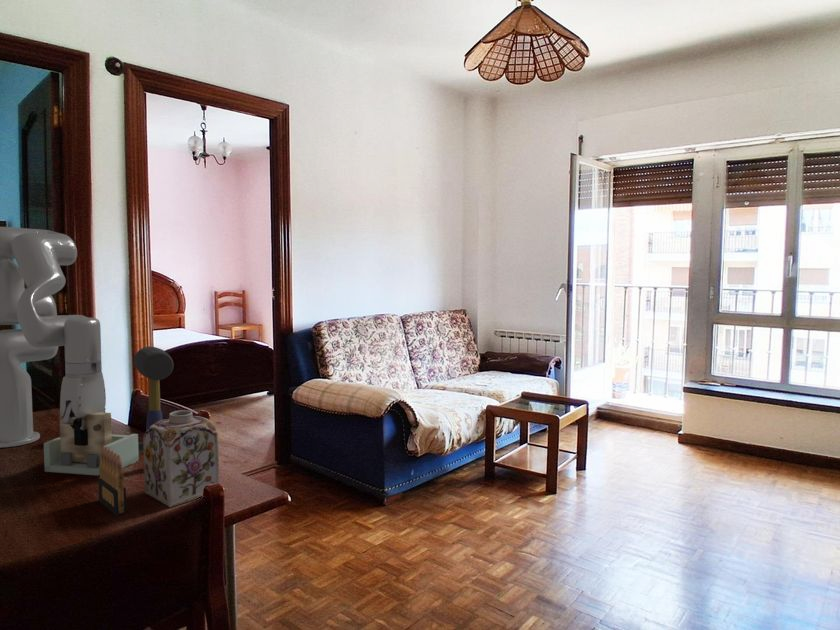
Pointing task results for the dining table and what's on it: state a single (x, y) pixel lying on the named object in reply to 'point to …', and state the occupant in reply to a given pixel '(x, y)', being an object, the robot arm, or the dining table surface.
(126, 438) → the cabinet
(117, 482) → the ammunition clip
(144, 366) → the rubber mallet
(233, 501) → the dining table surface
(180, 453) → the decorative jar
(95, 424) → the wooden block
